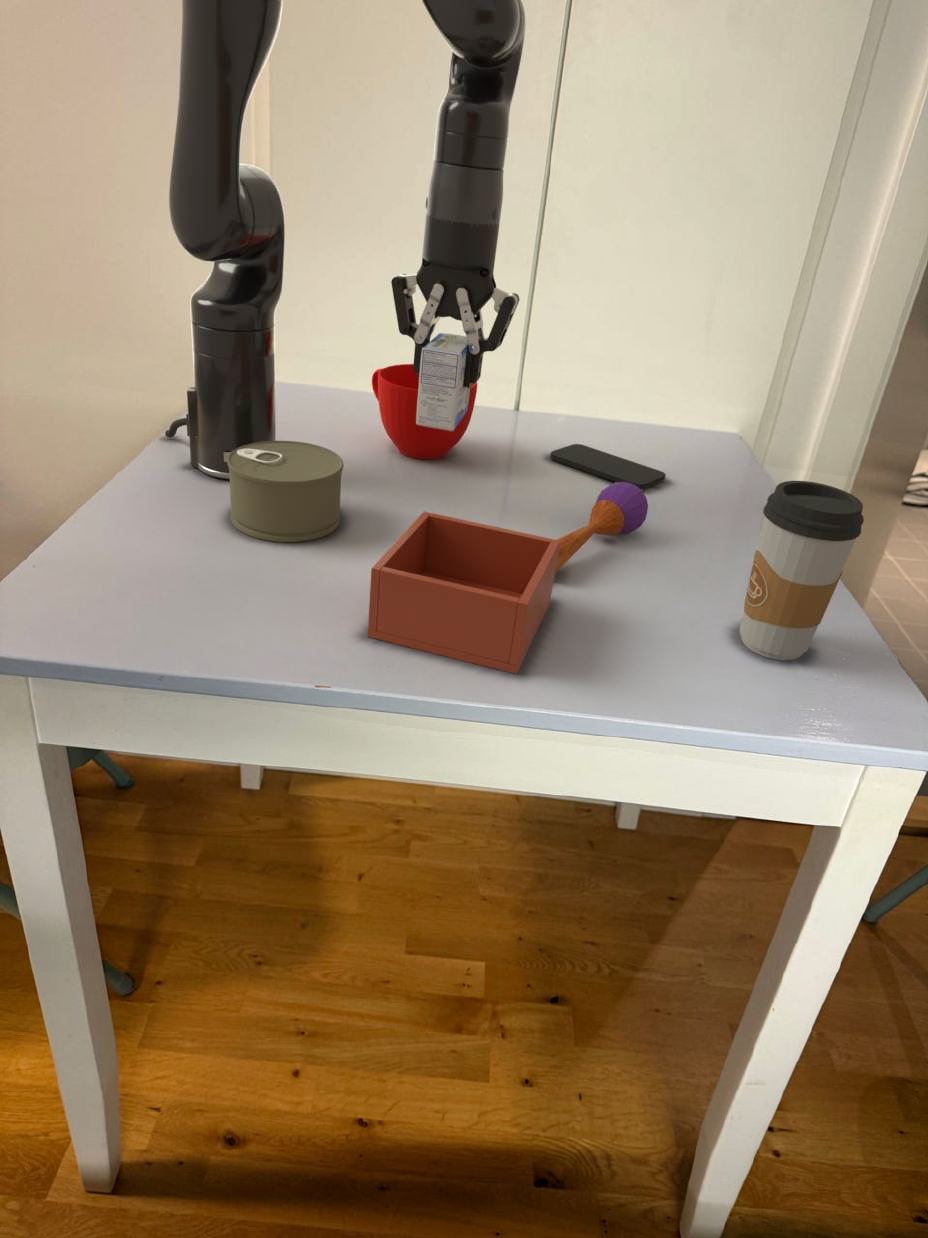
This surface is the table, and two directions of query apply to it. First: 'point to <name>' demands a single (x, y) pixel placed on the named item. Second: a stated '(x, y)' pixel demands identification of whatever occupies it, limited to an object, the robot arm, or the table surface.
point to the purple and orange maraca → (607, 518)
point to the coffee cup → (797, 566)
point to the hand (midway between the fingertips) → (445, 380)
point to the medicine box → (443, 382)
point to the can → (285, 490)
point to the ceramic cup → (413, 414)
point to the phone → (607, 465)
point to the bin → (463, 590)
